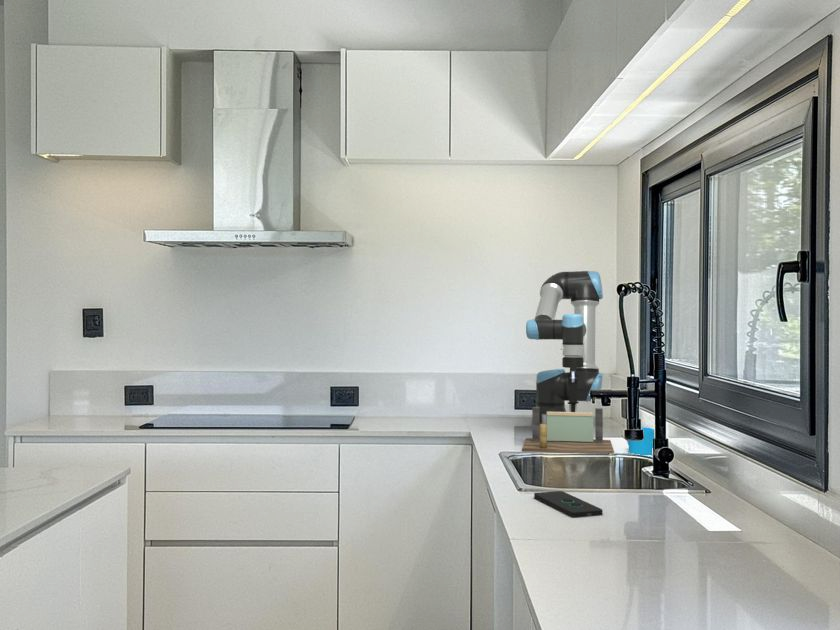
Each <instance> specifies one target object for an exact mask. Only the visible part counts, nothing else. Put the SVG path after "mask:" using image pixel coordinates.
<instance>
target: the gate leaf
mask: <svg viewBox="0 0 840 630" xmlns="http://www.w3.org/2000/svg"><path fill="white" fill-rule="evenodd" d="M542 424H547V441H582V442H593V439H594V412H589V411H588V412H587V411H586V412H585V411H583V412H581V411H580V412H578V411H577V412H569V411H566V412H547V414H542Z"/></svg>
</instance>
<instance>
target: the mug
mask: <svg viewBox="0 0 840 630" xmlns="http://www.w3.org/2000/svg"><path fill="white" fill-rule="evenodd" d="M641 428H642V429H643V431H644V439H643V440H642V441H627V440H626V442H627V445H628V453H629V452H630V453H634V454H640V455H652V448H653V443H652V442H653V438H654V439H655V429H654V428H653V427H645V426H643V427H642V426H641ZM652 456H653V455H652Z"/></svg>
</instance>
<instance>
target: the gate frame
mask: <svg viewBox="0 0 840 630" xmlns="http://www.w3.org/2000/svg"><path fill="white" fill-rule="evenodd" d="M531 409H532V411H531V412H532V414H531V416H532V421H531V422H532V423H531V424H532V437H525V439H524V442H523V445H522V447H521V452H533V453H535V452H536V453H562V454H563V453H564V454H565V453H566V454H575V453H574V452H581V453H580V454H592V453H614V454H615V450H614V447H613V444H612V442H611V439H604V438H603V435H604V434H603V433H604V429H603V427H604V425H603V424H604V423H603V420H604V418H603V414H604V413H603V411H604V410H603V408H599V407H596V408H595V409H594V413H595V414H594V416H595V417H594V418H595V424H594V425H595V429H594V430H595V435H594V438H595V439H594V438H593V442H582V441H547V424H540V407H536V406H533V407H532V408H531Z"/></svg>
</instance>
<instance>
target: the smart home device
mask: <svg viewBox="0 0 840 630" xmlns="http://www.w3.org/2000/svg"><path fill="white" fill-rule="evenodd" d="M533 497H534V498H533V499H534V500H537V501H539V502H541V503H543V504H545V505H546V506H548V507H551V508H552V509H554V510H557V511H558V512H561V513H562V514H565V515H566V516H568V517H570V518H575V519H576V518H584V517H585V518H586V517H593V516H594V517H595V516H596V517H597V516H603V509H602V508H600V507H598V506H596V505H594V504H591V503H589V502H587V501H585V500H582V499H581V498H578V497H576V496H574V495H571V494H570V493H567V492H565V491H562V490H556V491H545V492H544V491H542V492H534V493H533Z"/></svg>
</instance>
